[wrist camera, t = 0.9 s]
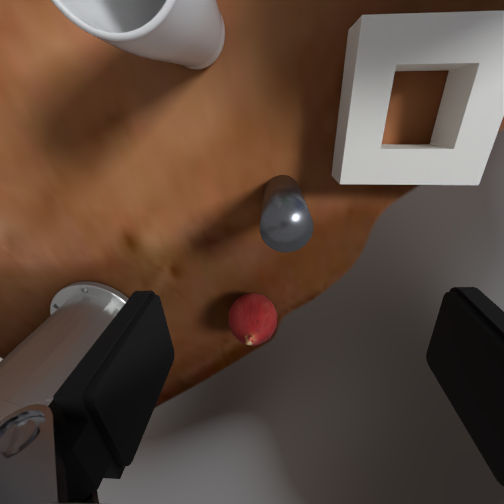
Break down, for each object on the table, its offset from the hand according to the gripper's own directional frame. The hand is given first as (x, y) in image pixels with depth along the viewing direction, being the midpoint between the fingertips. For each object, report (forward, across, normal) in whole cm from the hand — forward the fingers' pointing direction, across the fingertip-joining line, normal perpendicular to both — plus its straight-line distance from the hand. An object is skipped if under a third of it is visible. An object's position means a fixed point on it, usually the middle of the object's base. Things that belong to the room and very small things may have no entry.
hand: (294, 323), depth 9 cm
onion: (+22, +4, +15) cm, 27 cm away
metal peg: (+22, 0, +2) cm, 22 cm away
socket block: (+22, -11, -6) cm, 26 cm away
